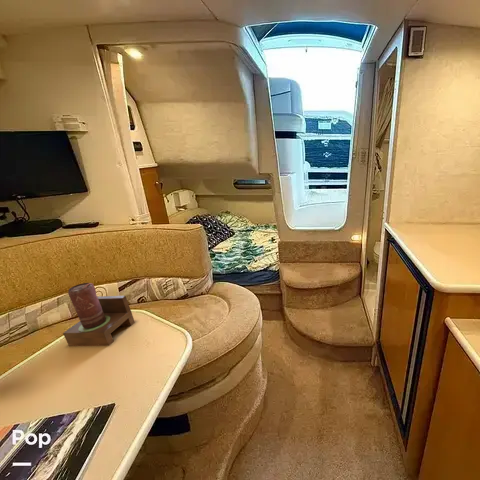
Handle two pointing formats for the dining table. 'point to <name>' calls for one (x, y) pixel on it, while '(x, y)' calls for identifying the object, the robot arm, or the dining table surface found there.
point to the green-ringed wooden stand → (115, 316)
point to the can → (87, 305)
